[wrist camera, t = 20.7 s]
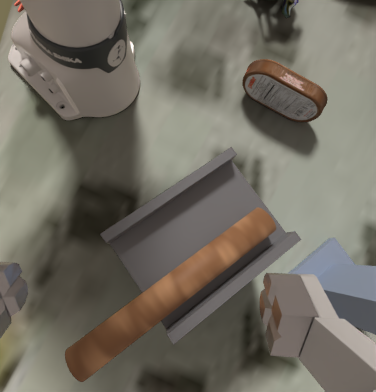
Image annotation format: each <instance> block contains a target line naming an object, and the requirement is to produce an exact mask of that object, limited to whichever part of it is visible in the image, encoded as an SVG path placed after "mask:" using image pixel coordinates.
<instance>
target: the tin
mask: <svg viewBox="0 0 376 392" xmlns="http://www.w3.org/2000/svg"><path fill="white" fill-rule="evenodd" d="M243 88H244V90H245V92H246V93H247V94H248V96H250V97H251V98H252V99H253V100H255V101H257V102H259V103H260V104H262V105H264V106H266V107H268V108H269V109H271V110H273V111H275V112H277V113H279V114H280V115H282V116H284V117H286V118H288V119H290V120H293V121H297V122H310V121H312V120H314V119H316V118H318V117H319V116H320V115H321V113H322V111H323V109H324V107H325V106H326V104H327V95H326V93H325V91H324V90H323V89H322V88H321V87H320V86H319V85H317V84H315V83H313V82H312V81H310V80H308V79H306V78H304V77H303V76H301V75H299V74H297V73H295V72H294V71H292V70H290V69H288V68H287V67H285V66H283V65H281V64H280V63H278V62H275V61H272V60H268V59H260V60H256V61H254V62H252V63H251V64H250V65H249V67H248V69H247V72H246V73H245V75H244V77H243Z"/></svg>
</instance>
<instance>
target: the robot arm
mask: <svg viewBox="0 0 376 392" xmlns="http://www.w3.org/2000/svg"><path fill="white" fill-rule="evenodd" d="M20 3H21V4H20ZM19 4H20V6H19V8H18V12H21V11H22V10H23V9H25V10H26V11H25V12H24V13H23V14H22V15H21V16H20V18H19V19H18V20H17V21H16V23H15V25H14V27H13V29H12V32H11V39H12V41H13V45H12V47H11V49H10V52H9V56H8V60H9V62H10V64H11V65H12V66H13V68H14V69H15V70H16V71H17V72H18V73H19V74H20V75H21V76H22V77H23V78H24V79H25V80H26V81H27V82H28V83H29V84H30V85H31V86H32V87H33V88H34V89H35V90H36V92H37V93H38V94H39V95H40V96H41V97H42V98H43V99H44V100H45V101H46V102H47V103H48V104H49V105H50V106H51V107H52V108H53V109H54V110H55V111H56V112H57V113H58V114H59V115H60V117H61V118H63V119H64V120H74V119H78V118H81V117H106V116H111V115H114V114H117V113H119V112H121V111H122V110H124V109H125V108H127V107H128V106H129V105H130V104H131V103H132V102H133V101H134V99H135V97H136V96H137V94H138V91H139V87H140V76H139V72H138V69H137V67H136V64H135V61H134V58H135V49H134V45H133V43H132V42H131V41H130V40H129V36H128V32H127V26H126V19H125V18H126V15H125V11H124V8H123V4H122V1H121V0H18V1H17V2H16V3H15V4H14V5H15V6H17V5H19ZM61 107H65V108H64V109H61ZM21 273H22V270H21V268H20V266H19V264H17V263H10V262H0V338H1V337H2V335H3V334H4V333H5V331H6V330H7V328H8V327H9V325H10V324H11V316H12V315H14V314H15V313H17V312H18V311H20V309H21V308H22V306H23V305H24V303H25V301H26V298H27V295H28V286H27V284H26V281H25V280H23V279H22V278H21V277H20V274H21ZM263 283H264V286H265V289H264V290H262V291H261V295H260V313H261V318H262V322H263V323H264V324H265V325H266V326H267V330H266V334H265V335H266V339H267V343H268V347H269V351H270V355H273V356H286V357H299V360H300V361H301V362H302V363H303V365H304V366H305V367H306V368H307V370H308V371H309V372H310V373H311V374H312V376H313V377H314V378H315V379H316V381H317V382H318V383H319V384H320V385H321V387H322V388H323V389H324V390H325V392H376V343H375V342H373V341H372V340H371V339H369V338H368V337H367V336H366V335H364V334H363V333H362V332H360V331H359V330H358V329H357V328H355V327H354V326H353V325H352V324H350V323H349V322H348V321H346V320H345V319H339V317H338V316H337V314H336V312H335V310H334V308H333V306H332V304H331V303H330V301H329V299H328V297H327V295H326V293H325V292H324V290H323V288H322V286H321V284H320V282H319V280H318V279H317V277H316V276H315V275H314V274H283V273H266V274H265V276H264V281H263Z"/></svg>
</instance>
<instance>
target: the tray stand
mask: <svg viewBox="0 0 376 392" xmlns="http://www.w3.org/2000/svg"><path fill="white" fill-rule="evenodd" d="M236 155H237V154H236V152H235V151H234V150H233V148H232V147H230V148H229V149H227V150H226V151H224V152H223V153H221V154H220V155H218V156H217V157H215V158H214V159H212V160H211V161H209V162H208V163H206V164H205V165H203V166H202V167H200V168H199V169H197V170H196V171H194V172H193V173H191V174H190V175H188V176H187V177H185V178H184V179H182V180H181V181H179V182H178V183H176V184H175V185H173V186H172V187H170V188H169V189H167V190H166V191H164V192H163V193H161V194H160V195H158V196H157V197H155V198H154V199H152V200H151V201H149V202H148V203H146V204H145V205H143V206H142V207H140V208H139V209H137V210H135V211H134V212H132V213H131V214H129V215H128V216H126V217H125V218H123V219H122V220H120V221H119V222H117V223H116V224H114V225H113V226H111V227H110V228H108V229H107V230H105V231H104V232H102V233H101V234H100V235H101V236H102V238H103V239H104V241H105V242H106V243H109V244H110V245H111V247H112V248H113V250H114V251H115V253H116V254H117V256H118V257H119V259H120V260H121V262H122V263H123V265H124V266H125V268H126V269H127V271H128V272H129V274H130V275H131V277H132V278H133V280H134V281H135V283H136V284H137V286H138V287H139V289H140V290H141V292H142V293H143V292H144V291H146V290H147V289H148V288H150V287H151V286H152V285H154V284H155V283H156V282H158V281H159V280H160V279H162V278H163V277H164V276H166V275H167V274H168V273H170V272H171V271H172V270H174V269H175V268H176V267H178V266H179V265H180V264H182V263H183V262H184V261H186V260H187V259H188V258H190V257H191V256H192V255H194V254H195V253H196V252H198V251H199V250H201V249H202V248H203V247H205V246H206V245H207V244H209V243H210V242H211V241H213V240H214V239H215V238H217V237H218V236H219V235H221V234H222V233H223V232H225V231H226V230H227V229H229V228H230V227H231V226H233V225H234V224H235V223H237V222H238V221H239V220H241V219H242V218H243V217H245V216H246V215H247V214H249V213H250V212H251V211H253V210H254V209H255V208H257V207H259V208H262V209H263V210H265V211H266V212H267V213H268V214H269V215H270V216H271V218H272V219H273V220H274V222H275V225H276V230H275V231H274V232H273V233H272V234H270V235H269V236H268V237H267V238H265V239H264V240H263V241H262V242H260V243H259V244H258V245H256V246H255V247H254V248H253V249H251V250H250V251H249V252H248V253H246V254H245V255H244V256H243V257H241V258H240V259H239V260H237V261H236V262H235V263H234V264H232V265H231V266H230V267H229V268H227V269H226V270H225V271H223V272H222V273H221V274H220V275H218V276H217V277H216V278H215V279H213V280H212V281H211V282H209V283H208V284H207V285H206V286H204V287H203V288H202V289H201V290H199V291H198V292H197V293H196V294H194V295H193V296H192V297H190V298H189V299H188V300H187V301H185V302H184V303H183V304H182V305H180V306H179V307H178V308H176V309H175V310H174V311H173V312H171V313H170V314H169V315H168V316H166V317H165V318H164V319H162V320H161V322H162V323H163V325H164V326H165V328H166V331H167V336H168V337H169V339H170V340H171V342H172V343H173V345H174V344H175V343H176V342H177V341H179V340H180V339H181V338H182V337H183V336H185V335H186V334H187V333H188V332H189V331H191V330H192V329H193V328H194V327H196V326H197V325H198V324H199V323H200V322H202V321H203V320H204V319H205V318H206V317H208V316H209V315H210V314H211V313H213V312H214V311H215V310H216V309H217V308H219V307H220V306H221V305H222V304H223V303H225V302H226V301H227V300H228V299H230V298H231V297H232V296H233V295H234V294H236V293H237V292H238V291H239V290H240V289H242V288H243V287H244V286H245V285H247V284H248V283H249V282H250V281H251V280H253V279H254V278H255V277H256V276H257V275H259V274H260V273H261V272H262V271H264V270H265V269H266V268H267V267H268V266H270V265H271V264H272V263H273V262H274V261H276V260H277V259H278V258H279V257H281V256H282V255H283V254H284V253H285V252H287V251H288V250H289V249H290V248H291V247H293V246H294V245H295V244H296V243H298V242H299V241H300V240H301V239H300V237H299V236H298V235H297V233H296V232H288V233H286V232H285V231H284V230H283V228H282V227H281V226H280V224H279V223H278V222H277V220H276V219H275V218H274V216H273V215H272V214H271V212H270V211H269V210H268V208H267V207H266V206H265V204H264V203H263V202H262V200H261V199H260V198H259V196H258V195H257V194H256V192H255V191H254V190H253V188H252V187H251V186H250V184H249V183H248V182H247V180H246V179H245V178H244V176H243V175H242V174H241V172H240V171H239V170H238V168H237V167H236V166H235V164H234V163H233V162H232V160H233V158H234V157H235V156H236Z"/></svg>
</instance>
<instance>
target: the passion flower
mask: <svg viewBox="0 0 376 392" xmlns="http://www.w3.org/2000/svg"><path fill="white" fill-rule="evenodd" d="M297 3H298V0H284V2H283V5H282V14H283V15H284V16H285V17H286V18H288V17H290V10H291V8H292V7H294V6H295V5H296V4H297Z"/></svg>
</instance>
